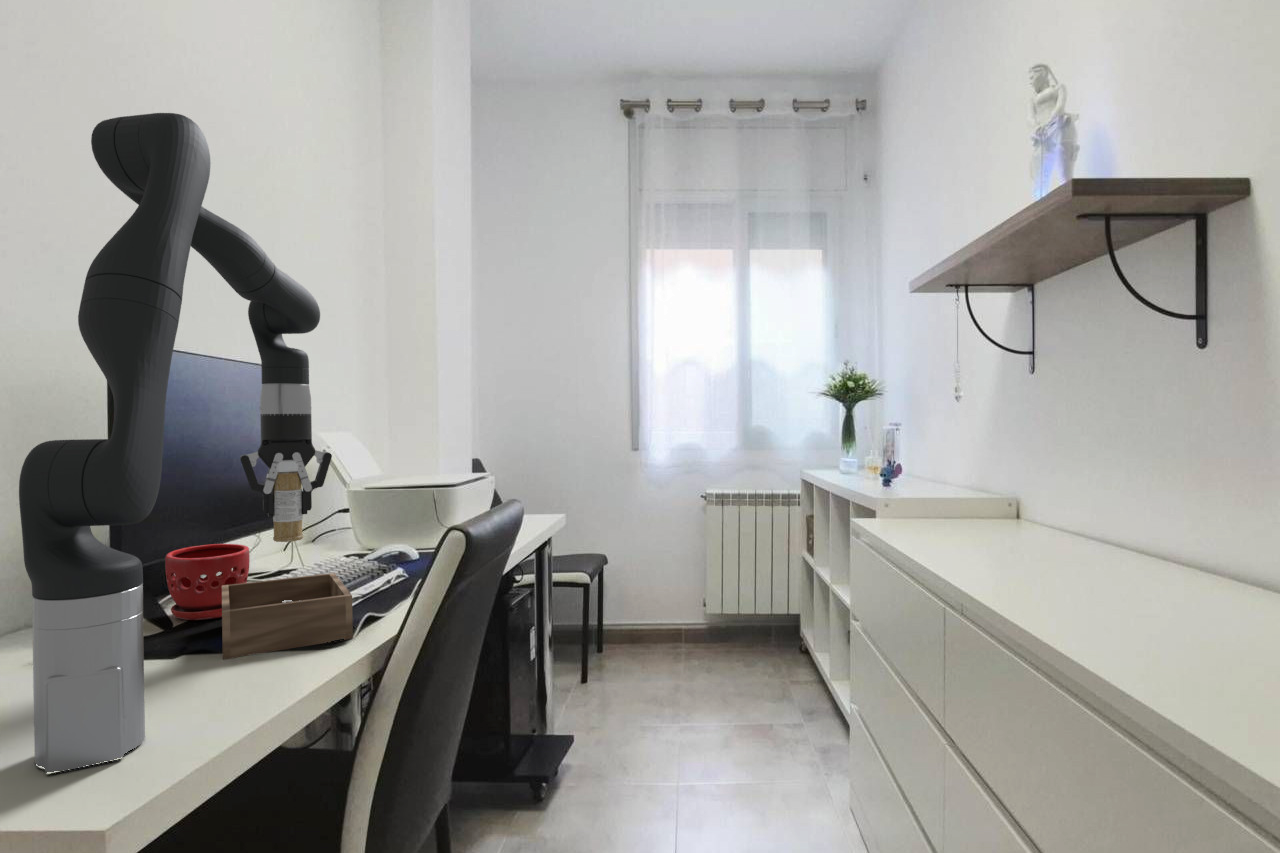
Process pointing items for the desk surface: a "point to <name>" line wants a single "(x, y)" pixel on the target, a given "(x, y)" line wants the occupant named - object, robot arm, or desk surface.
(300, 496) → the sprinkles bottle
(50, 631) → the robot arm
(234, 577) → the plant pot
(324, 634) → the wooden box
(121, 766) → the desk surface
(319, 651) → the desk surface
